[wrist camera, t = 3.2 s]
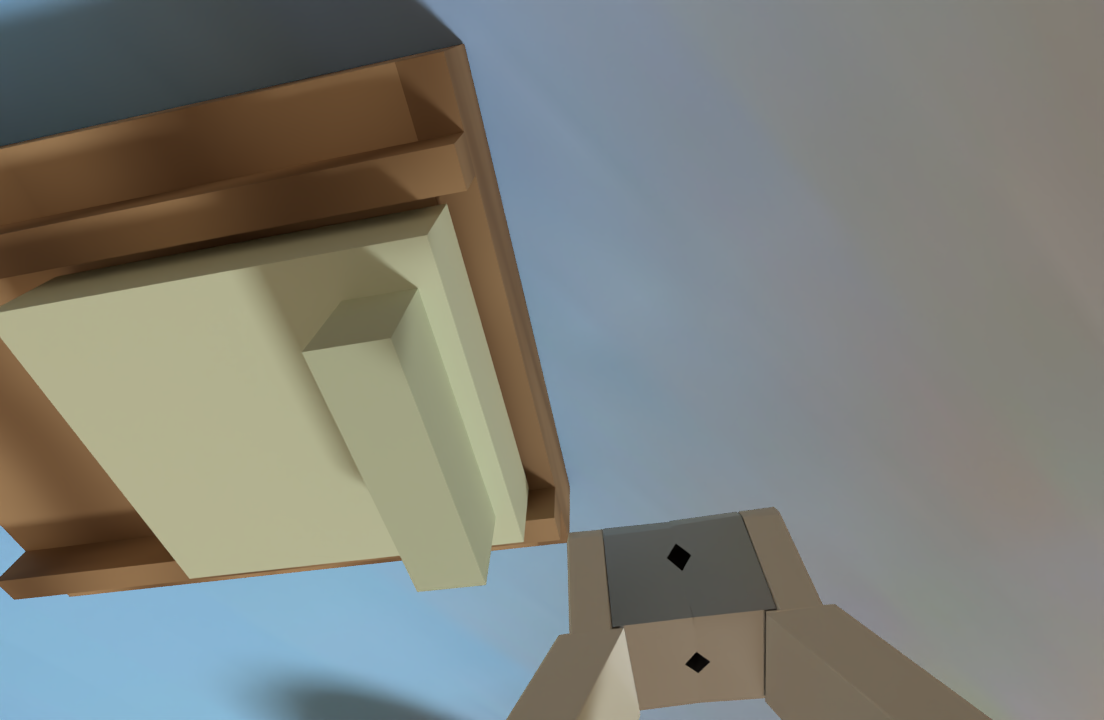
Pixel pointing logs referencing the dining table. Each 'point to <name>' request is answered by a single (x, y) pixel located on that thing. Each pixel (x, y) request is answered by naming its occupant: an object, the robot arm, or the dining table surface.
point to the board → (230, 217)
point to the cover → (290, 398)
